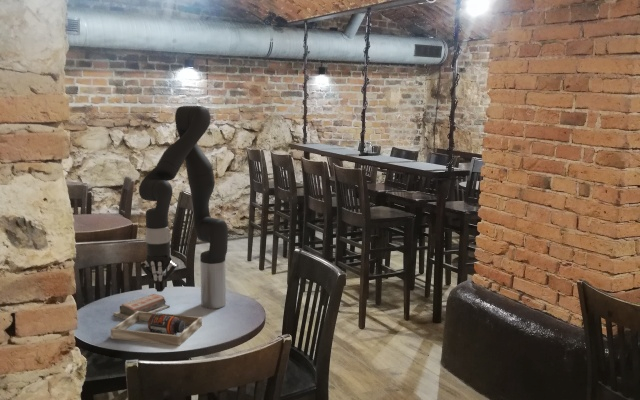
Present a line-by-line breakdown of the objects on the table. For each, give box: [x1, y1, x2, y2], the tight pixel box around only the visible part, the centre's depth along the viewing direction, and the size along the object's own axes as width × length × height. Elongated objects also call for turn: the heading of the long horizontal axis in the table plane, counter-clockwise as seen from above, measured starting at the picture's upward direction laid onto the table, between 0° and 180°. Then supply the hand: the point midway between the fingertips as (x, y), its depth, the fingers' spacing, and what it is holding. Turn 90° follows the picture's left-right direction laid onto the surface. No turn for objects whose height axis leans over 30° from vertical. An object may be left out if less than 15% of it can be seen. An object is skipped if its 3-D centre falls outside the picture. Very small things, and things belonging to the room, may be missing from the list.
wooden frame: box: [110, 311, 203, 346], centre depth 215 cm, size 18×24×3 cm
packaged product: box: [113, 293, 171, 320], centre depth 234 cm, size 18×5×10 cm
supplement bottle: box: [147, 314, 186, 335], centre depth 213 cm, size 6×6×11 cm
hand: (160, 290), depth 212 cm, fingers closed
